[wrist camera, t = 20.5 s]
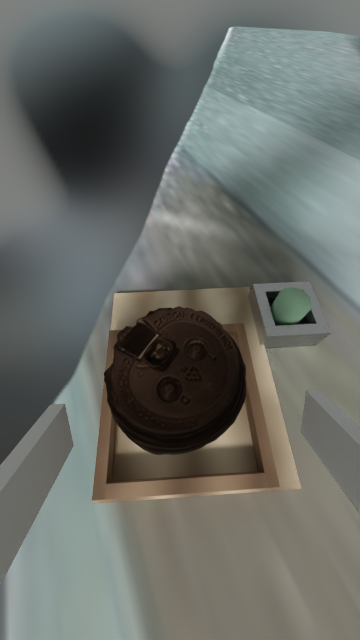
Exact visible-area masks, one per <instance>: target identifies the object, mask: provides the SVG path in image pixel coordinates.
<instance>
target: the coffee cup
mask: <svg viewBox="0 0 360 640" xmlns="http://www.w3.org/2000/svg"><path fill="white" fill-rule="evenodd" d="M113 349H114V358H113V363H112V364H111V366H110V367H109V368H108V369H107V370H106V371H105V372H104V376H105V378H104V381H105V384H106V390H107V396H108V397H107V402H108V404H109V407H110V410H111V414H112V416H113V418H114V420H115V422H116V423H117V425H118V426H119V427H120V429H121V430H122V432H123V433H125V435H126V436H127V437H128V438H129V439H130V440H131V441H132V442H134V443H135V444H136V445H138V446H139V447H140V448H142V449H143V450H145V451H147V452H149V453H152V454H155V455H165V454H168V455H178V454H185V453H189V452H192V451H195V450H198V449H200V448H202V447H204V446H205V445H207V444H209V443H211V442H213V441H215V440H217V439H218V438H219V437H220V436H221V435H222V434H224V432H226V430H227V429H228V428H229V427H230V426H231V425H232V424H234V422H235V420H236V419H237V416H238V415H239V413H240V411H241V409H242V407H243V404H244V402H245V398H246V378H245V377H246V366H245V364H244V361H243V358H242V355H241V352H240V350H239V348H238V346H237V344H236V342H235V341H234V339H233V338H232V337H231V336H230V334H229V333H228V332H227V331H226V330H224V329H223V327H222V325H221V323H219V322H217V321H216V320H215V319H214V318H213V317H212V316H210V315H209V314H207V313H206V312H204V311H195V310H193V309H191V308H188V307H187V308H182V307H180V306H178V307H175V308H171V307H170V308H158V309H157V310H154V311H149V313H148V314H147V315H146V316H144V317H142V318H139V319H138V320H137V321H136V325H135V326H133V327H131V326H129V327H128V326H126V327H125V328H124V329H122V330H121V331H120V332H119V333H118V334H117V342H116V343H115V345H114V347H113Z"/></svg>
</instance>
